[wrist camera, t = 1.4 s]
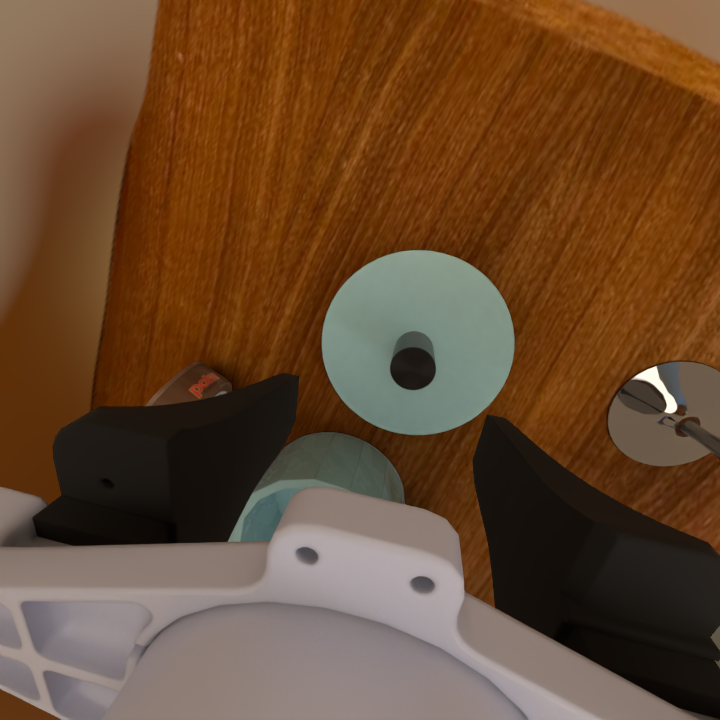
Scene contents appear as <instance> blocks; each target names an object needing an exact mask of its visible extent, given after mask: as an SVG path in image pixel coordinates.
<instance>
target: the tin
mask: <svg viewBox="0 0 720 720" xmlns="http://www.w3.org/2000/svg"><path fill="white" fill-rule="evenodd" d="M231 391H232V384H231V382H230V381H228V380H227V379H226V378H225V377H223V376H222V375H220V374H219V373H217V372H216V371H214V370H212V369H211V368H209V367H208V366H207V365H206V363H205V362H203V361H197V362H194V363H192V364H190V365H188V366H187V367H185V368H184V369H183V370H181V371H180V372H179V373H177V374H176V375H175V376H174V377H172V378H171V379H170V380H169V381H168V382H167V383H166V384H165V385H164V386H163V387H162V388H161V389H160V390H159V391H158V392H157V393H156V394H155V395H154V396H153V397H152V398H151V399H150V400H149V401H148V403H147V404H146V405H145V406H156V405H168V404H176V403H183V402H189V401H196V400H201V399H206V398H210V397H215V396H218V395H222V394H226V393H229V392H231Z"/></svg>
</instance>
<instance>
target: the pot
mask: <svg viewBox="0 0 720 720" xmlns="http://www.w3.org/2000/svg"><path fill="white" fill-rule="evenodd" d="M307 487H332V488H336V489H340V490H345V491H349V492H353V493H357V494H362V495H366V496H370V497H375V498H379V499H383V500H388V501H392V502H396V503H400V504H405V498H404V489H403V485H402V482H401V479H400V477H399V475H398V473H397V471H396V469H395V468H394V466H393V465H392V463H391V462H390V461H389V460H388V459H387V458H386V456H385V455H384V454H383V453H381V452H380V451H379V450H378V449H377V448H375V447H374V446H372V445H371V444H369V443H367V442H365V441H363V440H361V439H359V438H356V437H354V436H351V435H347V434H343V433H336V432H320V433H313V434H309V435H305V436H303V437H300V438H298V439H296V440H294V441H293V442H291V443H290V444H288V445H287V446H286V447H284V448H283V449H282V451H281V452H280V453H279V454H278V456H277V457H276V458H275V460H274V461H273V462H272V464H271V465H270V466H269V468H268V469H267V471H266V472H265V474H264V475H263V477H262V478H261V480H260V481H259V483H258V484H257V486H256V487H255V489H254V491H253V492H252V494H251V496H250V498H249V500H248V502H247V504H246V506H245V508H244V510H243V512H242V514H241V516H240V518H239V520H238V522H237V524H236V526H235V528H234V530H233V532H232V534H231V536H230V538H229V540H228V542H248V541H271V539H272V537H273V535H274V532H275V530H276V528H277V526H278V524H279V522H280V520H281V518H282V516H283V514H284V511H285V509H286V507H287V505H288V503H289V501H290V499H291V497H292V495H294V494H296V493H298V492H300V491H301V490H303V489H305V488H307Z"/></svg>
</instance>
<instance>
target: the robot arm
mask: <svg viewBox="0 0 720 720" xmlns="http://www.w3.org/2000/svg"><path fill="white" fill-rule="evenodd" d="M298 383H299V376H296V375H291V374H286V373H283V374H279V375H276V376H273V377H271V378H268V379H265V380H263V381H260V382H258V383H255V384H252V385H250V386H247V387H244V388H241V389H238V390H235V391H232V392H229V393H226V394H222V395H218V396H215V397H210V398H206V399H201V400H196V401H189V402H183V403H176V404H168V405H156V406H136V407H108V406H100V407H98V408H96V409H94V410H92V411H91V412H89V413H87V414H86V415H84V416H82V417H80V418H79V419H77V420H75V421H74V422H72V423H70V424H68V425H67V426H65V427H63V428H62V429H61V430H60V431H59V432H58V434H57V435H56V436H55V440H54V444H53V458H54V463H55V468H56V472H57V477H58V481H59V485H60V490H61V496H60V497H59V498H57V499H56V500H55V501H53V502H52V503H51V504H49V505H48V503H47V502H46V501H45V500H44V499H43V498H40V497H38V496H36V495H32V494H27V493H24V492H20V491H16V490H12V489H8V488H2V487H0V689H2V690H4V691H6V692H8V693H10V694H13V695H14V696H16V697H19V698H20V699H22V700H24V701H26V702H28V703H30V704H32V705H34V706H36V707H38V708H40V709H42V710H44V711H46V712H48V713H50V714H52V715H54V716H56V717H58V718H60V719H62V720H720V668H719V667H718V665H717V664H716V662H715V661H719V660H720V651H719V649H718V648H717V646H716V645H715V643H714V642H713V641H712V639H711V638H710V637H711V636H712V634H713V633H714V632H715V631H716V629H717V628H718V627H719V626H720V555H719V554H718V553H717V552H716V551H715V550H714V549H713V547H712V546H711V545H710V544H709V543H707V542H705V541H703V540H700V539H698V538H696V537H693V536H691V535H688V534H686V533H684V532H681V531H679V530H676V529H674V528H672V527H669V526H667V525H664V524H662V523H660V522H658V521H656V520H654V519H652V518H650V517H647V516H645V515H643V514H641V513H639V512H637V511H635V510H633V509H631V508H629V507H627V506H625V505H624V504H622V503H620V502H618V501H616V500H614V499H613V498H611V497H609V496H607V495H606V494H604V493H602V492H600V491H599V490H597V489H595V488H594V487H592V486H591V485H589V484H587V483H586V482H584V481H583V480H581V479H580V478H578V477H577V476H576V475H574V474H573V473H571V472H570V471H568V470H567V469H566V468H564V467H563V466H562V465H560V464H559V463H558V462H556V461H555V460H554V459H553V458H551V457H550V456H549V455H548V454H546V453H545V452H544V451H543V450H542V449H540V448H539V447H538V446H537V445H536V444H535V443H533V442H532V441H531V440H530V439H529V438H528V437H527V436H525V435H524V434H523V433H522V432H521V431H520V430H519V429H518V428H516V427H515V426H514V425H513V424H512V423H511V422H509V421H508V420H507V419H505V418H502V417H497V416H492V415H487V417H486V420H485V423H484V427H483V430H482V433H481V436H480V439H479V442H478V445H477V448H476V451H475V454H474V458H473V473H474V484H475V488H476V493H477V497H478V502H479V506H480V510H481V515H482V519H483V523H484V527H485V532H486V536H487V541H488V546H489V553H490V561H491V570H492V579H493V589H494V600H495V608H494V607H492V606H490V605H489V604H487V603H485V602H483V601H481V600H479V599H478V598H476V597H474V596H472V595H470V594H468V593H467V592H465V591H464V577H463V569H462V560H461V552H460V543H459V535H458V534H457V532H456V531H455V530H454V528H453V527H452V526H451V525H450V523H449V522H448V521H447V520H446V519H445V518H443V517H441V516H439V515H436V514H434V513H432V512H430V511H428V510H426V509H422V508H418V507H413V506H409V505H405V504H400V503H396V502H392V501H388V500H383V499H379V498H375V497H370V496H366V495H362V494H357V493H353V492H349V491H345V490H340V489H336V488H332V487H307V488H305V489H303V490H301V491H300V492H298V493H296V494H294V495H292V497H291V499H290V501H289V503H288V505H287V507H286V509H285V511H284V514H283V516H282V518H281V520H280V522H279V524H278V526H277V528H276V530H275V532H274V535H273V537H272V539H271V541H248V542H228V540H229V538H230V536H231V534H232V532H233V530H234V528H235V526H236V524H237V522H238V520H239V518H240V516H241V514H242V512H243V510H244V508H245V506H246V504H247V502H248V500H249V498H250V496H251V494H252V492H253V491H254V489H255V487H256V486H257V484H258V483H259V481H260V480H261V478H262V477H263V475H264V474H265V472H266V471H267V469H268V468H269V466H270V465H271V463H272V462H273V460H274V459H275V457H276V456H277V454H278V453H279V451H280V450H281V448H282V447H283V445H284V444H285V442H286V440H287V438H288V436H289V434H290V432H291V430H292V427H293V425H294V423H295V418H296V406H297V395H298ZM714 660H715V661H714Z"/></svg>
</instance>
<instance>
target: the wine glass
mask: <svg viewBox="0 0 720 720" xmlns="http://www.w3.org/2000/svg"><path fill="white" fill-rule="evenodd" d="M607 427H608V432H609V435H610V437H611V439H612V441H613V443H614V444H615V445H616V447H617V448H618V449H619V450H620V451H621V452H622V453H623V454H625V455H626V456H628V457H629V458H631V459H633V460H635V461H638V462H640V463H644V464H648V465H654V466H675V465H680V464H685V463H688V462H691V461H695V460H697V459H699V458H701V457H703V456H705V455H707V454H709V453H710V452H711V453H712V454H714V455H715V456H716V457H717V458H718V459H719V460H720V372H719V371H718V370H716V369H715V368H713V367H710V366H708V365H705V364H702V363H697V362H692V361H673V362H666V363H662V364H658V365H655V366H652V367H650V368H647V369H645V370H643V371H641V372H640V373H638V374H636V375H635V376H633V377H632V378H631V379H629V380H628V381H627V382H626V383H625V384H624V385H623V386H622V387H621V388H620V389H619V390H618V392H617V393H616V395H615V396H614V398H613V400H612V402H611V404H610V407H609V410H608V415H607Z"/></svg>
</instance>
